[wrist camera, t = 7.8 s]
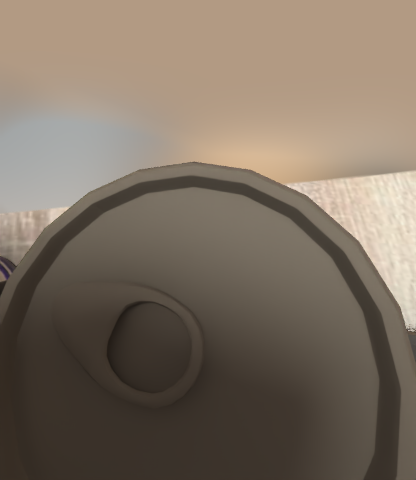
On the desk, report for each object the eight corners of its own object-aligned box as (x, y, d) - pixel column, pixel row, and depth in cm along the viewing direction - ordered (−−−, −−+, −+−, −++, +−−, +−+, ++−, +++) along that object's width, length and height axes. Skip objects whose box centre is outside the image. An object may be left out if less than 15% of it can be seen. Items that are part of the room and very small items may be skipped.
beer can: (196, 241, 15) (79, 88, 4) (290, 276, 14) (536, 206, 3) (157, 334, 14) (-171, 510, 3) (255, 381, 13) (413, 1080, 1)
